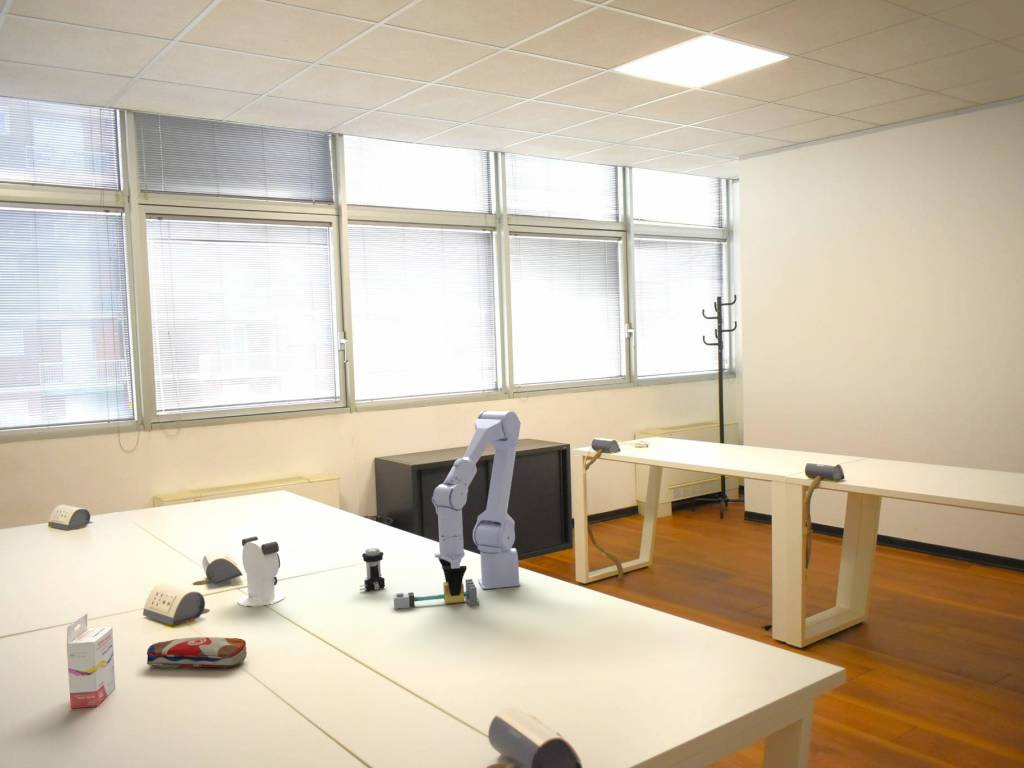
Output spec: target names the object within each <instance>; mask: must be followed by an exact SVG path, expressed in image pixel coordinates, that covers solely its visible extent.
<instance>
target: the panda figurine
mask: <svg viewBox="0 0 1024 768" xmlns="http://www.w3.org/2000/svg"><path fill="white" fill-rule="evenodd" d="M241 545H242V547H243V548H242V554H241V555H242V566H243V569H244V571H245V573H246V582H247V595H243V596H242V597H240V598H239V599H238V600H237V604H238V603H239V604H242V605H246V606H259V607H263V606H262V605H266V606H269V605H268V604H271V603H275V602H278V601H280V602H282V601H283V600H285V599H284V598H286V594H285V593H284V592H280V591H275V586H277V585H278V577H277V575H278V572H279V569H280V567H281V560H280V559H281V558H280V555H279V553H278V552H279V551H280V547H279V543H278V542H277V541H272V542H270V540H268V539H263V538H262V539H259V538H258V536H256V535H255V536H250V537H246V538H242V539H241ZM282 599H283V600H282ZM281 600H282V601H281ZM278 603H279V602H278ZM239 604H238V605H239ZM275 604H276V603H275ZM271 605H272V604H271ZM246 606H245V607H246Z"/></svg>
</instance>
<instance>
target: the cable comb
mask: <svg viewBox="0 0 1024 768" xmlns="http://www.w3.org/2000/svg"><path fill="white" fill-rule="evenodd" d="M465 592H468V596H465V597H466V598H465V597H464V598H465V599H466V603H467V604H469V605H468V607H471V606H470V605H475V606H480V601H479V598H478V597H477V586H476V584H475V582H474V581H473V578H466V579H465Z"/></svg>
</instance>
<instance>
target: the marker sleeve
mask: <svg viewBox="0 0 1024 768" xmlns="http://www.w3.org/2000/svg"><path fill="white" fill-rule="evenodd" d="M442 585H443V586H442V587H443V594H445V599H443V601H444V603H445V605H447V604H457V603H464V602H465V597H464V592H465V588H464V587H465V586H464V582H463V581H462V586H461V592H460V595H459V596H451V594H450V591H449V586H448V582H446V581H445V582H444V581H443V583H442Z"/></svg>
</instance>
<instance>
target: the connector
mask: <svg viewBox="0 0 1024 768" xmlns="http://www.w3.org/2000/svg"><path fill="white" fill-rule="evenodd" d="M409 607H410V606H409V595H408V593H404V592H396V594H393V608H394V610H398V608H403V609H410V608H409Z"/></svg>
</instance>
